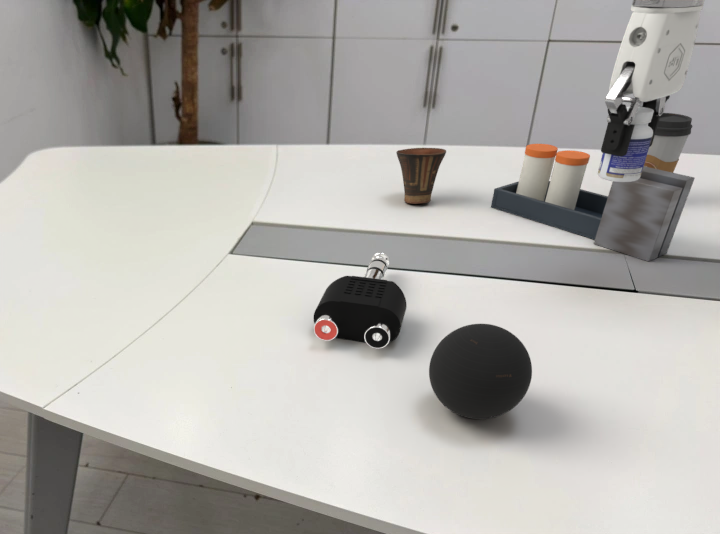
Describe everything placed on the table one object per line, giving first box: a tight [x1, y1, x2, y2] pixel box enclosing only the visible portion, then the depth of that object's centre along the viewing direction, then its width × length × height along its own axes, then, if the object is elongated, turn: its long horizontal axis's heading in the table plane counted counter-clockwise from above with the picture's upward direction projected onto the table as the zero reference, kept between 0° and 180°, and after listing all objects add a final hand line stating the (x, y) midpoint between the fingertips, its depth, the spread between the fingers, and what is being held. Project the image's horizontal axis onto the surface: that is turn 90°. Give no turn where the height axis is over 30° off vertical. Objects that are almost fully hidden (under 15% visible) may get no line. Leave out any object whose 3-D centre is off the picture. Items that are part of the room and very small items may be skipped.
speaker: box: [428, 323, 533, 420], centre depth 70 cm, size 10×10×10 cm
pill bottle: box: [597, 106, 654, 182], centre depth 91 cm, size 5×5×9 cm
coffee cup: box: [644, 112, 693, 173], centre depth 122 cm, size 8×8×15 cm
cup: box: [396, 147, 447, 205], centre depth 127 cm, size 9×9×10 cm
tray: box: [490, 180, 608, 241], centre depth 120 cm, size 22×12×4 cm, turn 33°
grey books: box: [593, 166, 696, 262], centre depth 105 cm, size 9×5×12 cm, turn 33°
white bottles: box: [516, 143, 591, 210], centre depth 120 cm, size 11×5×10 cm, turn 33°
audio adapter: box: [313, 252, 407, 350], centre depth 92 cm, size 11×5×25 cm
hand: (626, 148), depth 91 cm, fingers closed on pill bottle, 5 cm apart
